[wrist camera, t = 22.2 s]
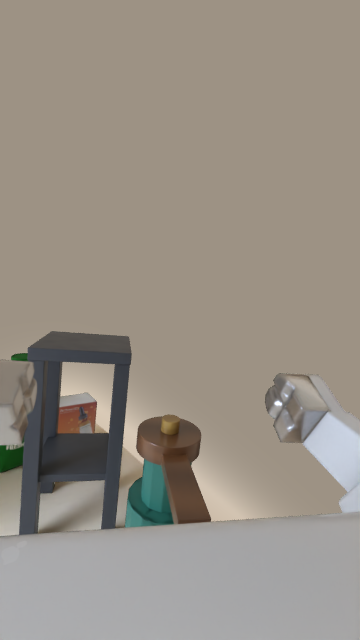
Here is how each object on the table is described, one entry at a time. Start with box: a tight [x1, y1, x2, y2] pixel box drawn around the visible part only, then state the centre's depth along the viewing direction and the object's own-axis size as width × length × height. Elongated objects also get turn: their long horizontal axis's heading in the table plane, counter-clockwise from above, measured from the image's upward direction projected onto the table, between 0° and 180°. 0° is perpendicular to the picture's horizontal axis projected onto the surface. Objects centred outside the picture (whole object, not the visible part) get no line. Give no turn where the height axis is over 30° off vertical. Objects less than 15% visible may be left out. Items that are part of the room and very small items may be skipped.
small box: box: [58, 393, 97, 433], centre depth 59 cm, size 8×6×10 cm
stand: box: [19, 331, 131, 535], centre depth 42 cm, size 12×12×26 cm
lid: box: [136, 415, 211, 524], centre depth 28 cm, size 15×7×3 cm, turn 12°
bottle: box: [125, 459, 192, 528], centre depth 32 cm, size 8×8×17 cm
